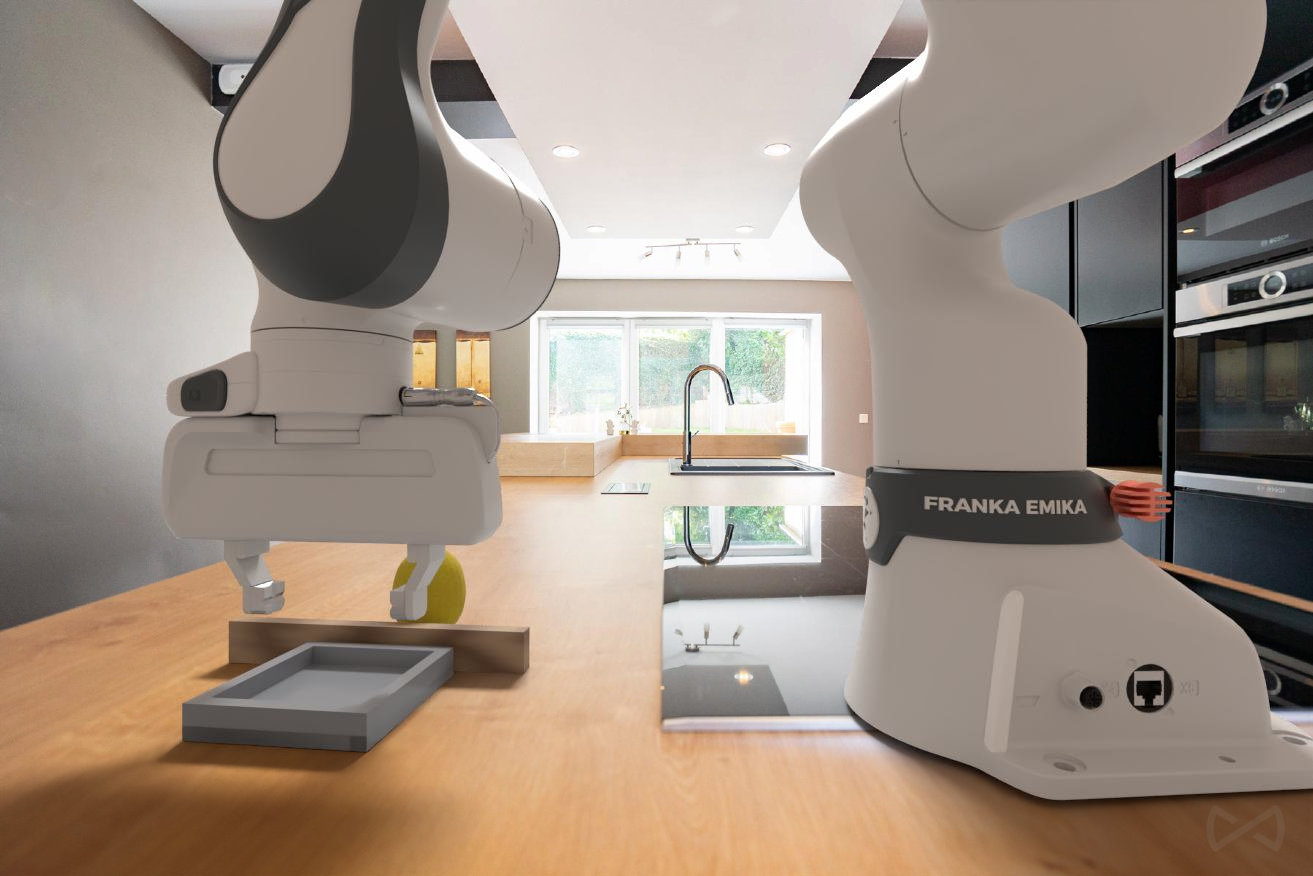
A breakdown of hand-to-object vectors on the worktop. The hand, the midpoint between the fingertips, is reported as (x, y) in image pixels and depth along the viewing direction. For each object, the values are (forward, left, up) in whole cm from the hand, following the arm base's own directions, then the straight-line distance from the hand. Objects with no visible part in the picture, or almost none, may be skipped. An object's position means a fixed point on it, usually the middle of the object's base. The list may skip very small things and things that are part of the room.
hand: (335, 615), depth 39 cm
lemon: (0, -12, -6) cm, 13 cm away
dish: (0, 0, -6) cm, 6 cm away
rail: (+1, -6, -6) cm, 9 cm away
